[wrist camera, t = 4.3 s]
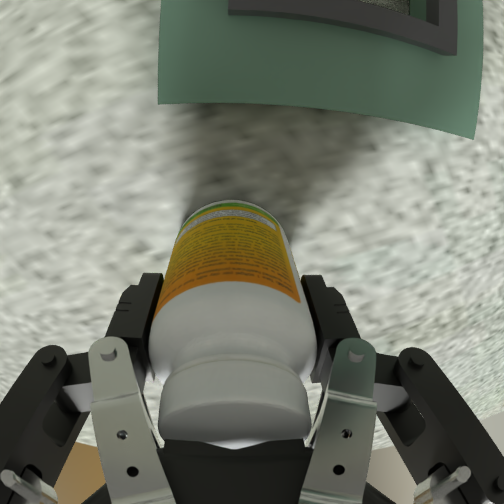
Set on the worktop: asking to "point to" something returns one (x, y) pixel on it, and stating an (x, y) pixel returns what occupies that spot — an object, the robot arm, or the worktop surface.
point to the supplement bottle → (232, 332)
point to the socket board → (327, 57)
